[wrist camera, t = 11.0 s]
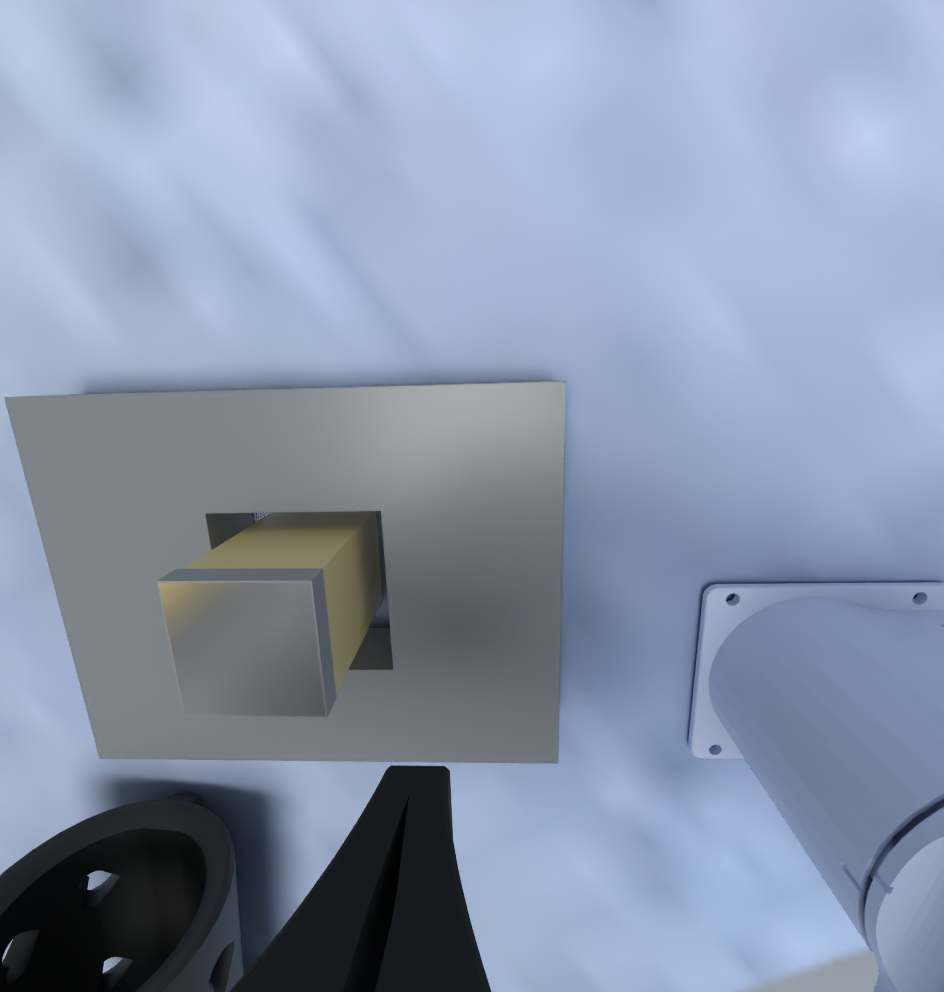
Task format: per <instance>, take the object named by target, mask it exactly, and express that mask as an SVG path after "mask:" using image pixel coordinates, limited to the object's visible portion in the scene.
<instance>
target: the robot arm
mask: <svg viewBox="0 0 944 992" xmlns="http://www.w3.org/2000/svg"><path fill="white" fill-rule="evenodd" d="M733 593H735V596H734V598H733V599H732V600H730V601H726V598H727V596H728V595H730V594H733ZM917 593H918V595H917V597H916V598H915V599H913V597H914V595H916V594H917ZM688 745H689V749H690V750H691V752H692V754H693V755H694V756H695V757H697V758H702V759H745V760H746V762H747V763H748V765H749V766H750V768H751V769H752V771H753V772H754V774H755V775H756V777H757V778H758V780H759V781H760V783H761V784H762V786H763V787H764V789H765V790H766V792H767V794H768V795H769V797H770V798H771V800H772V801H773V803H774V804H775V806H776V807H777V809H778V810H779V812H780V813H781V815H782V816H783V818H784V819H785V821H786V822H787V824H788V825H789V827H790V829H791V830H792V832H793V833H794V835H795V836H796V838H797V839H798V841H799V842H800V844H801V845H802V847H803V848H804V850H805V851H806V853H807V854H808V856H809V857H810V859H811V860H812V862H813V863H814V865H815V867H816V868H817V870H818V871H819V873H820V874H821V876H822V877H823V879H824V880H825V882H826V883H827V885H828V886H829V888H830V889H831V891H832V892H833V894H834V895H835V897H836V898H837V900H838V902H839V903H840V905H841V906H842V908H843V909H844V911H845V912H846V914H847V915H848V917H849V918H850V920H851V921H852V923H853V924H854V926H855V927H856V929H857V930H858V932H859V933H860V935H861V937H862V938H863V940H864V941H865V943H866V944H867V946H868V947H869V949H870V950H871V951H872V952H873V954H874V956H875V959H876V961H877V963H878V968H879V976H878V980H877V983H876V985H875V987H874V992H944V583H943V582H925V583H792V584H715V585H711V586H709V587H708V588H707V589H706V590H705V591H704V594H703V600H702V610H701V620H700V630H699V640H698V650H697V660H696V670H695V680H694V690H693V700H692V710H691V720H690V730H689V741H688ZM712 745H716V746H715V747H713V748H710V747H711V746H712ZM229 992H491V989H490V986H489V983H488V980H487V977H486V973H485V970H484V967H483V964H482V960H481V957H480V953H479V950H478V947H477V943H476V940H475V936H474V933H473V929H472V925H471V921H470V918H469V914H468V910H467V906H466V901H465V897H464V893H463V889H462V885H461V880H460V875H459V871H458V866H457V860H456V854H455V849H454V843H453V829H452V808H451V787H450V771H449V770H448V769H447V768H446V767H445V766H390V767H389V768H388V769H387V770H386V771H385V773H384V775H383V777H382V779H381V781H380V783H379V785H378V787H377V788H376V790H375V792H374V794H373V796H372V797H371V799H370V801H369V803H368V804H367V806H366V808H365V809H364V811H363V813H362V814H361V816H360V818H359V819H358V821H357V823H356V824H355V826H354V827H353V829H352V830H351V832H350V833H349V835H348V837H347V838H346V840H345V841H344V843H343V844H342V846H341V847H340V849H339V851H338V852H337V854H336V855H335V857H334V858H333V860H332V861H331V863H330V864H329V865H328V867H327V868H326V870H325V871H324V872H323V874H322V875H321V877H320V878H319V880H318V881H317V882H316V884H315V885H314V887H313V888H312V889H311V891H310V892H309V894H308V895H307V896H306V898H305V899H304V901H303V902H302V903H301V905H300V906H299V907H298V909H297V910H296V911H295V912H294V914H293V915H292V916H291V918H290V919H289V920H288V922H287V923H286V924H285V925H284V927H283V928H282V929H281V931H280V932H279V933H278V934H277V936H276V937H275V938H274V939H273V940H272V942H271V943H270V944H269V945H268V947H267V948H266V949H265V950H264V952H263V953H262V954H261V955H260V956H259V958H258V959H257V960H256V961H255V962H254V963H253V965H252V966H251V967H250V968H249V969H248V970H247V972H246V973H245V974H244V975H243V976H242V977H241V978H240V980H239V981H238V982H237V983H236V984H235V985H234V987H233V988H232V989H231V990H230V991H229Z"/></svg>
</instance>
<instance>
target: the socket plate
mask: <svg viewBox="0 0 944 992" xmlns="http://www.w3.org/2000/svg"><path fill="white" fill-rule="evenodd" d="M565 395H566V382H564V381H525V382H489V383H454V384H419V385H383V386H348V387H313V388H277V389H242V390H207V391H171V392H136V393H101V394H71V395H49V396H26V397H4V398H5V402H6V406H7V410H8V414H9V417H10V421H11V425H12V429H13V433H14V436H15V440H16V444H17V448H18V451H19V455H20V459H21V463H22V467H23V470H24V474H25V478H26V482H27V485H28V489H29V493H30V497H31V501H32V504H33V508H34V512H35V516H36V520H37V523H38V527H39V531H40V535H41V538H42V542H43V546H44V550H45V554H46V557H47V561H48V565H49V569H50V573H51V576H52V580H53V584H54V588H55V591H56V595H57V599H58V603H59V607H60V610H61V614H62V618H63V622H64V625H65V629H66V633H67V637H68V641H69V644H70V648H71V652H72V656H73V660H74V663H75V667H76V671H77V675H78V678H79V682H80V686H81V690H82V694H83V697H84V701H85V705H86V709H87V712H88V716H89V720H90V724H91V728H92V731H93V735H94V739H95V743H96V747H97V750H98V754H99V758H100V759H188V760H282V761H377V762H471V763H558V749H559V699H560V648H561V597H562V547H563V496H564V446H565ZM337 511H381V519H382V532H383V545H384V557H385V570H386V583H387V596H388V609H389V621H390V627H379V628H369V629H368V631H367V633H366V635H365V637H364V639H363V641H362V643H361V645H360V647H359V649H358V651H357V653H356V655H355V657H354V659H353V661H352V663H351V665H350V667H349V669H348V671H347V673H346V676H345V678H344V680H343V682H342V684H341V686H340V688H339V690H338V692H337V694H336V698H337V699H336V701H335V703H334V705H333V707H332V709H331V711H330V713H329V716H328V718H291V717H207V716H183V711H182V706H181V701H180V696H179V691H178V686H177V681H176V676H175V671H174V666H173V661H172V656H171V651H170V646H169V641H168V636H167V631H166V626H165V621H164V616H163V611H162V606H161V601H160V596H159V591H158V586H157V580H159V579H161V578H162V577H164V576H166V575H167V574H169V573H171V572H172V571H174V570H175V569H182V568H183V567H185V566H187V565H188V564H190V563H192V562H193V561H195V560H196V559H198V558H200V557H201V556H203V555H204V554H206V553H208V552H209V551H211V550H213V549H214V548H216V547H217V546H219V545H221V544H222V543H224V542H225V541H227V540H229V539H230V538H232V537H234V536H235V535H237V534H238V533H240V532H242V531H243V530H245V529H246V528H248V527H250V526H251V525H253V524H254V521H253V514H252V513H272V512H337Z"/></svg>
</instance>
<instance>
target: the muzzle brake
mask: <svg viewBox="0 0 944 992" xmlns="http://www.w3.org/2000/svg"><path fill="white" fill-rule="evenodd" d="M98 870H101V871H105V872H109V873H112V874H111V876H110V877H109V878H108V879H107V880H106V881H105V882H104V883H102V884H101V885H100V886H98V887H96V888H94V889H92V890H87V887H88V881H89V877H88V876H87V875H89V874H90V873H92V872H94V871H98ZM13 938H14V939H13ZM12 939H13V941H12ZM11 941H12V943H11V945H10V947H9V950H8V952H7V954H6V956H5V958H4V960H3V962H2V958H3V955H4V952H5V950H6V948H7V946H8V945H9V943H10V942H11ZM111 957H121V958H122V960H121V961H120V962H119V963H118V964H117V965H116V966H114V967H113V968H111V969H110V970H108V971H107V972H105V973H102V972H103V965H104V961H105V960H107V959H109V958H111ZM242 976H243V961H242V947H241V933H240V920H239V906H238V892H237V879H236V865H235V851H234V846H233V843H232V839H231V835H230V833H229V831H228V829H227V828H226V826H225V825H224V823H223V822H222V820H221V819H220V818H218V817H217V816H216V815H215V814H214V813H213V812H211V811H210V810H208V809H206V808H204V807H202V800H201V796H200V795H192V794H181V793H175V794H173V795H172V796H170V797H169V798H167V799H165V800H164V801H162V800H153V801H146V802H139V803H133V804H129V805H125V806H122V807H118V808H115V809H111V810H108V811H106V812H103V813H101V814H98V815H96V816H93V817H91V818H88V819H86V820H84V821H82V822H80V823H78V824H76V825H74V826H72V827H70V828H68V829H66V830H64V831H62V832H60V833H59V834H57V835H55V836H54V837H52V838H51V839H49V840H48V841H46V842H44V843H43V844H41V845H40V846H38V847H37V848H35V849H33V850H32V851H31V852H29V853H28V854H27V855H25V856H24V857H23V858H21V859H20V860H19V861H17V862H16V863H15V864H13V865H12V866H11V867H9V868H8V869H7V870H5V871H4V872H3V873H2V874H1V875H0V992H229V991H230V990H231V989H232V988H233V987H234V985H235V984H236V983H237V982H238V981H239V980H240V978H241V977H242Z"/></svg>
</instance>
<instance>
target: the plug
mask: <svg viewBox="0 0 944 992" xmlns="http://www.w3.org/2000/svg"><path fill="white" fill-rule="evenodd" d="M157 586H158V591H159V596H160V601H161V606H162V611H163V616H164V621H165V626H166V631H167V636H168V641H169V646H170V651H171V656H172V661H173V666H174V671H175V676H176V681H177V686H178V691H179V696H180V701H181V706H182V711H183V716H207V717H291V718H328V716H329V713H330V711H331V709H332V707H333V705H334V703H335V701H336V699H337V698H336V694H337V692H338V690H339V688H340V686H341V684H342V682H343V680H344V678H345V676H346V673H347V671H348V669H349V667H350V665H351V663H352V661H353V659H354V657H355V655H356V653H357V651H358V649H359V647H360V645H361V643H362V641H363V639H364V637H365V635H366V633H367V631H368V629H369V627H370V625H371V623H372V621H373V619H374V617H375V615H376V613H377V611H378V609H379V607H380V604H381V602H382V600H383V598H382V585H381V571H380V558H379V544H378V531H377V518H376V511H337V512H272V513H271V514H269V515H267V516H266V517H264V518H263V519H261V520H259V521H258V522H256V523H255V524H253V525H251V526H250V527H248V528H246V529H245V530H243V531H242V532H240V533H238V534H237V535H235V536H234V537H232V538H230V539H229V540H227V541H225V542H224V543H222V544H221V545H219V546H217V547H216V548H214V549H213V550H211V551H209V552H208V553H206V554H204V555H203V556H201V557H200V558H198V559H196V560H195V561H193V562H192V563H190V564H188V565H187V566H185V567H183V568H182V569H175V570H174V571H172V572H171V573H169V574H167V575H166V576H164V577H162V578H161V579H159V580H157Z"/></svg>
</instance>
